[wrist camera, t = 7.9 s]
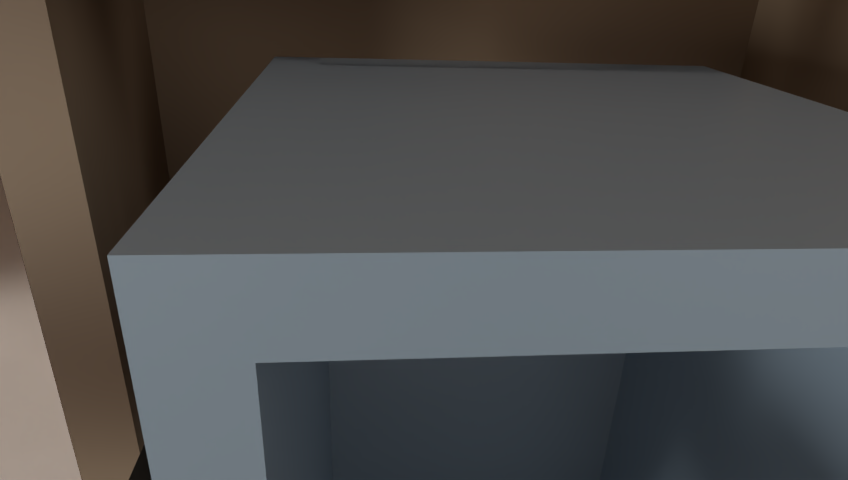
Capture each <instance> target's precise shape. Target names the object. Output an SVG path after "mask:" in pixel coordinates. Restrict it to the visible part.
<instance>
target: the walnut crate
mask: <svg viewBox="0 0 848 480" xmlns="http://www.w3.org/2000/svg"><path fill="white" fill-rule="evenodd" d="M274 57H314V58H359V59H405V60H450V61H495V62H540V63H586V64H631V65H676V66H705V67H708V68H712V69H715V70H718V71H721V72H724V73H727V74H730V75H733V76H737V77H740V78H743V79H746V80H749V81H752V82H755V83H759V84H762V85H765V86H768V87H771V88H774V89H777V90H780V91H784V92H787V93H790V94H793V95H796V96H799V97H802V98H806V99H809V100H812V101H815V102H818V103H821V104H824V105H828V106H831V107H834V108H837V109H840V110H843V111H846V112H848V0H0V176H1V180H2V183H3V187H4V191H5V195H6V198H7V202H8V206H9V210H10V213H11V217H12V221H13V225H14V228H15V232H16V236H17V240H18V243H19V247H20V251H21V254H22V258H23V262H24V266H25V269H26V273H27V277H28V281H29V284H30V288H31V292H32V296H33V299H34V303H35V307H36V311H37V314H38V318H39V322H40V325H41V329H42V333H43V337H44V340H45V344H46V348H47V352H48V355H49V359H50V363H51V367H52V370H53V374H54V378H55V381H56V385H57V389H58V393H59V396H60V400H61V404H62V408H63V411H64V415H65V419H66V423H67V426H68V430H69V434H70V438H71V441H72V445H73V449H74V452H75V456H76V460H77V464H78V467H79V471H80V475H81V479H82V480H129V478H130V475H131V473H132V471H133V469H134V466H135V464H136V462H137V460H138V457H139V455H140V453H141V451H142V448H143V446H144V439H143V434H142V429H141V424H140V419H139V414H138V409H137V404H136V399H135V394H134V389H133V384H132V379H131V374H130V369H129V364H128V359H127V354H126V349H125V344H124V339H123V334H122V329H121V324H120V319H119V314H118V309H117V304H116V299H115V294H114V289H113V284H112V278H111V273H110V268H109V263H108V258H107V255H108V254H109V252H110V251H111V250H112V249H113V248H114V246H115V245H116V244H117V243H118V242H119V241H120V239H121V238H122V237H123V236H124V235H125V233H126V232H127V231H128V230H129V229H130V228H131V226H132V225H133V224H134V223H135V222H136V220H137V219H138V218H139V217H140V216H141V215H142V213H143V212H144V211H145V210H146V209H147V207H148V206H149V205H150V204H151V203H152V202H153V200H154V199H155V198H156V197H157V196H158V194H159V193H160V192H161V191H162V190H163V189H164V187H165V186H166V185H167V184H168V183H169V181H170V180H171V179H172V178H173V177H174V176H175V174H176V173H177V172H178V171H179V170H180V168H181V167H182V166H183V165H184V164H185V163H186V161H187V160H188V159H189V158H190V157H191V155H192V154H193V153H194V152H195V151H196V150H197V148H198V147H199V146H200V145H201V144H202V142H203V141H204V140H205V139H206V138H207V137H208V135H209V134H210V133H211V132H212V131H213V129H214V128H215V127H216V126H217V125H218V123H219V122H220V121H221V120H222V119H223V118H224V116H225V115H226V114H227V113H228V112H229V110H230V109H231V108H232V107H233V106H234V105H235V103H236V102H237V101H238V100H239V99H240V97H241V96H242V95H243V94H244V93H245V92H246V90H247V89H248V88H249V87H250V86H251V84H252V83H253V82H254V81H255V80H256V79H257V77H258V76H259V75H260V74H261V73H262V71H263V70H264V69H265V68H266V67H267V66H268V64H269V63H270V62H271V61H272V60H273V58H274Z"/></svg>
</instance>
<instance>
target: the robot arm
mask: <svg viewBox="0 0 848 480" xmlns="http://www.w3.org/2000/svg"><path fill="white" fill-rule="evenodd" d="M129 480H152V479H151V474H150V469H149V464H148V459H147V454H146V449H145V444H144V446H143V448H142V451H141V453H140V455H139V457H138V460H137V462H136V464H135V466H134V469H133V471H132V473H131V475H130V478H129Z"/></svg>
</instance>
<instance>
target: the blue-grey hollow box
mask: <svg viewBox="0 0 848 480" xmlns="http://www.w3.org/2000/svg"><path fill="white" fill-rule="evenodd" d="M107 258H108V263H109V268H110V273H111V278H112V284H113V289H114V294H115V299H116V304H117V309H118V314H119V319H120V324H121V329H122V334H123V339H124V344H125V349H126V354H127V359H128V364H129V369H130V374H131V379H132V384H133V389H134V394H135V399H136V404H137V409H138V414H139V419H140V424H141V429H142V434H143V439H144V444H145V449H146V454H147V459H148V464H149V469H150V474H151V479H152V480H848V112H846V111H843V110H840V109H837V108H834V107H831V106H828V105H824V104H821V103H818V102H815V101H812V100H809V99H806V98H802V97H799V96H796V95H793V94H790V93H787V92H784V91H780V90H777V89H774V88H771V87H768V86H765V85H762V84H759V83H755V82H752V81H749V80H746V79H743V78H740V77H737V76H733V75H730V74H727V73H724V72H721V71H718V70H715V69H712V68H708V67H705V66H676V65H631V64H586V63H540V62H495V61H450V60H405V59H359V58H314V57H274V58H273V60H272V61H271V62H270V63H269V64H268V66H267V67H266V68H265V69H264V70H263V71H262V73H261V74H260V75H259V76H258V77H257V79H256V80H255V81H254V82H253V83H252V84H251V86H250V87H249V88H248V89H247V90H246V92H245V93H244V94H243V95H242V96H241V97H240V99H239V100H238V101H237V102H236V103H235V105H234V106H233V107H232V108H231V109H230V110H229V112H228V113H227V114H226V115H225V116H224V118H223V119H222V120H221V121H220V122H219V123H218V125H217V126H216V127H215V128H214V129H213V131H212V132H211V133H210V134H209V135H208V137H207V138H206V139H205V140H204V141H203V142H202V144H201V145H200V146H199V147H198V148H197V150H196V151H195V152H194V153H193V154H192V155H191V157H190V158H189V159H188V160H187V161H186V163H185V164H184V165H183V166H182V167H181V168H180V170H179V171H178V172H177V173H176V174H175V176H174V177H173V178H172V179H171V180H170V181H169V183H168V184H167V185H166V186H165V187H164V189H163V190H162V191H161V192H160V193H159V194H158V196H157V197H156V198H155V199H154V200H153V202H152V203H151V204H150V205H149V206H148V207H147V209H146V210H145V211H144V212H143V213H142V215H141V216H140V217H139V218H138V219H137V220H136V222H135V223H134V224H133V225H132V226H131V228H130V229H129V230H128V231H127V232H126V233H125V235H124V236H123V237H122V238H121V239H120V241H119V242H118V243H117V244H116V245H115V246H114V248H113V249H112V250H111V251H110V252H109V254H108V255H107Z"/></svg>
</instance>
